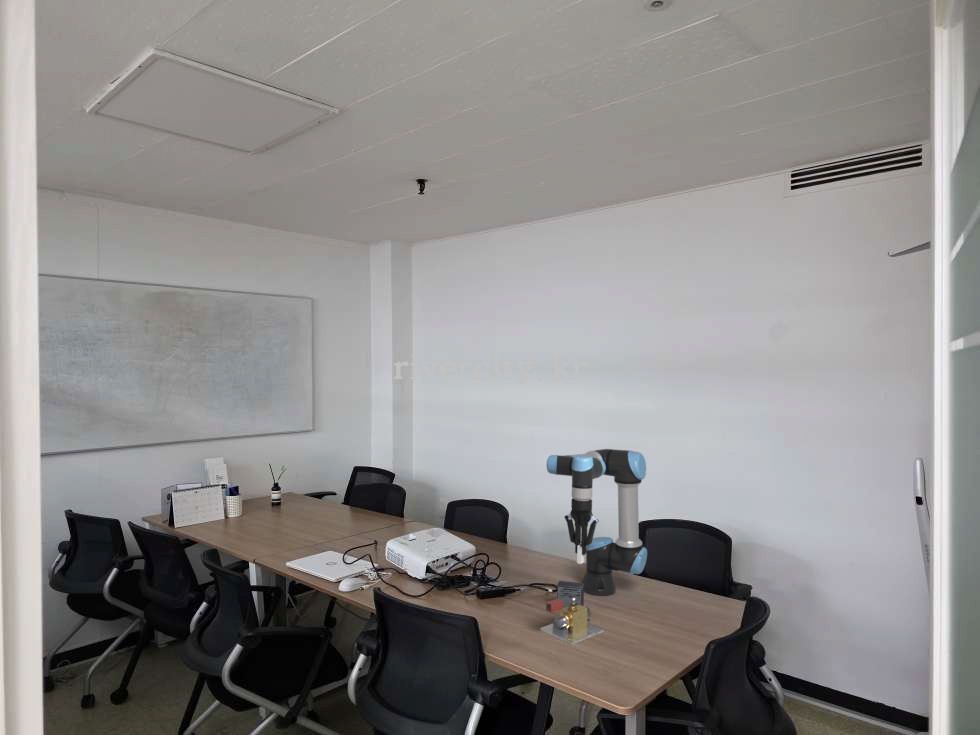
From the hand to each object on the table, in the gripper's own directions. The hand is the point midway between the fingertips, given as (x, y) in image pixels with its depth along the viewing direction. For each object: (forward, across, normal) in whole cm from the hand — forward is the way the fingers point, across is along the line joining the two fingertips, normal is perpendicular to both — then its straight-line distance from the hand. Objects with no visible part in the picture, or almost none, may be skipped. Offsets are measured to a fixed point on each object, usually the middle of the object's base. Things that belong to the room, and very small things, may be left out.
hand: (580, 562), depth 230 cm
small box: (+29, +16, -25) cm, 41 cm away
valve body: (+28, +6, -6) cm, 30 cm away
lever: (+18, +7, 0) cm, 19 cm away
